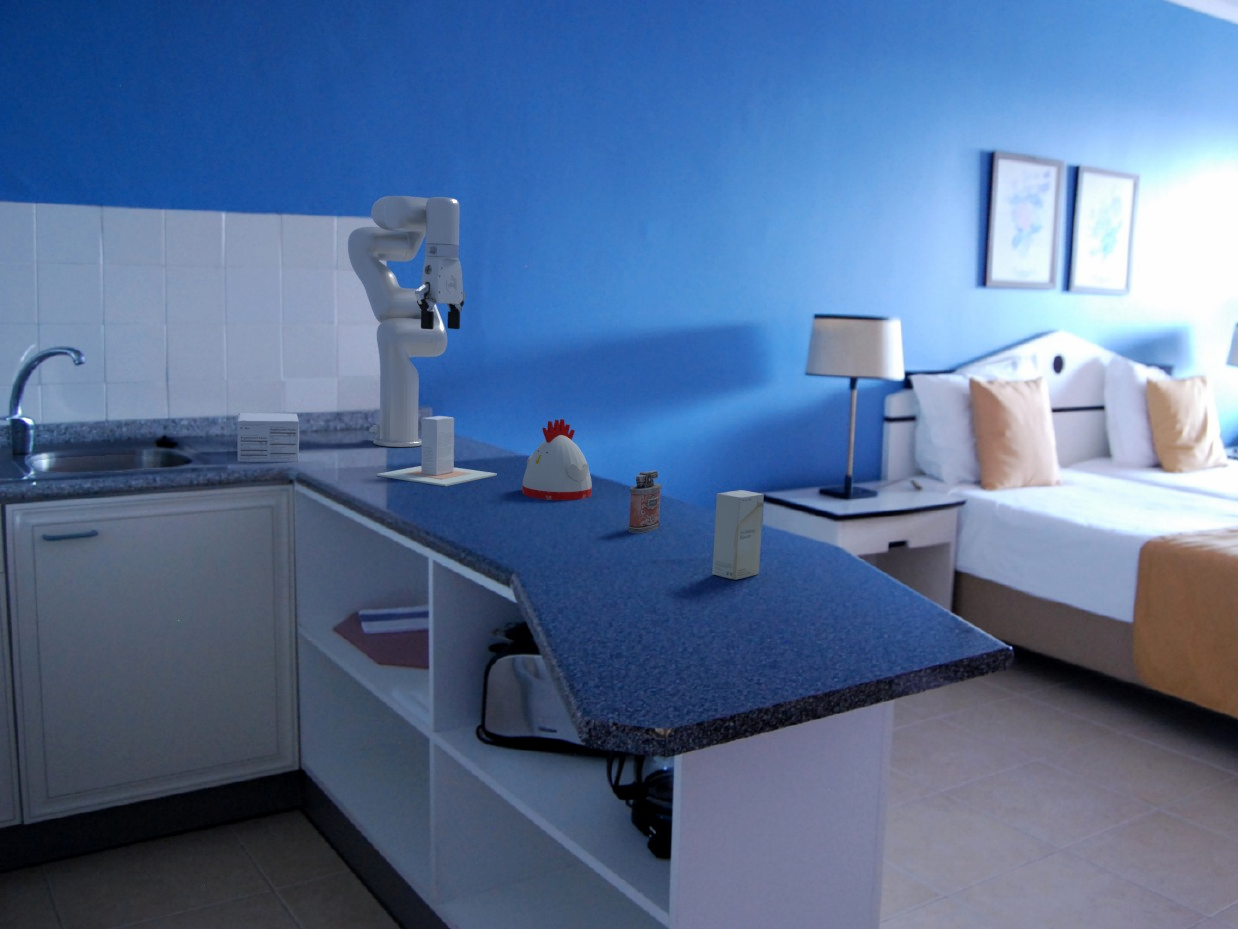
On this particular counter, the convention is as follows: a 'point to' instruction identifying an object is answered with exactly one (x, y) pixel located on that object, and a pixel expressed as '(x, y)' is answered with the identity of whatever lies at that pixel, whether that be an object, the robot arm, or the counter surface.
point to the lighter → (645, 503)
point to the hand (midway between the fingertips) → (440, 328)
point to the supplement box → (268, 437)
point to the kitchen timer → (557, 467)
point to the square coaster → (442, 480)
